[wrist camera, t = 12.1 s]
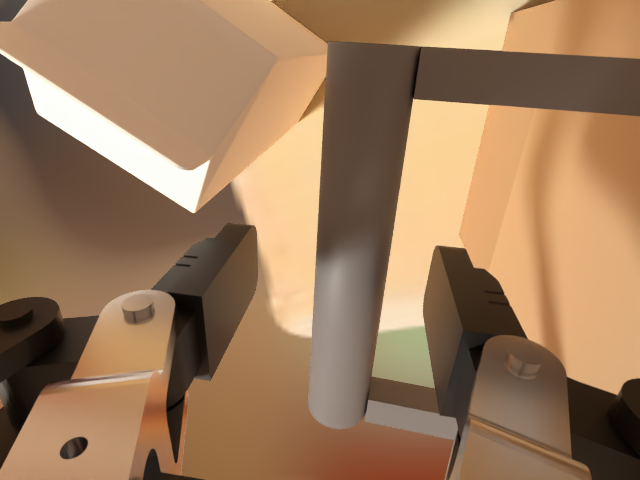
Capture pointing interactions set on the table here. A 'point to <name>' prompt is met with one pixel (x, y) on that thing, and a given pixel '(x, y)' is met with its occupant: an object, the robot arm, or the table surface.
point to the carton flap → (520, 216)
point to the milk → (169, 82)
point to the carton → (504, 139)
